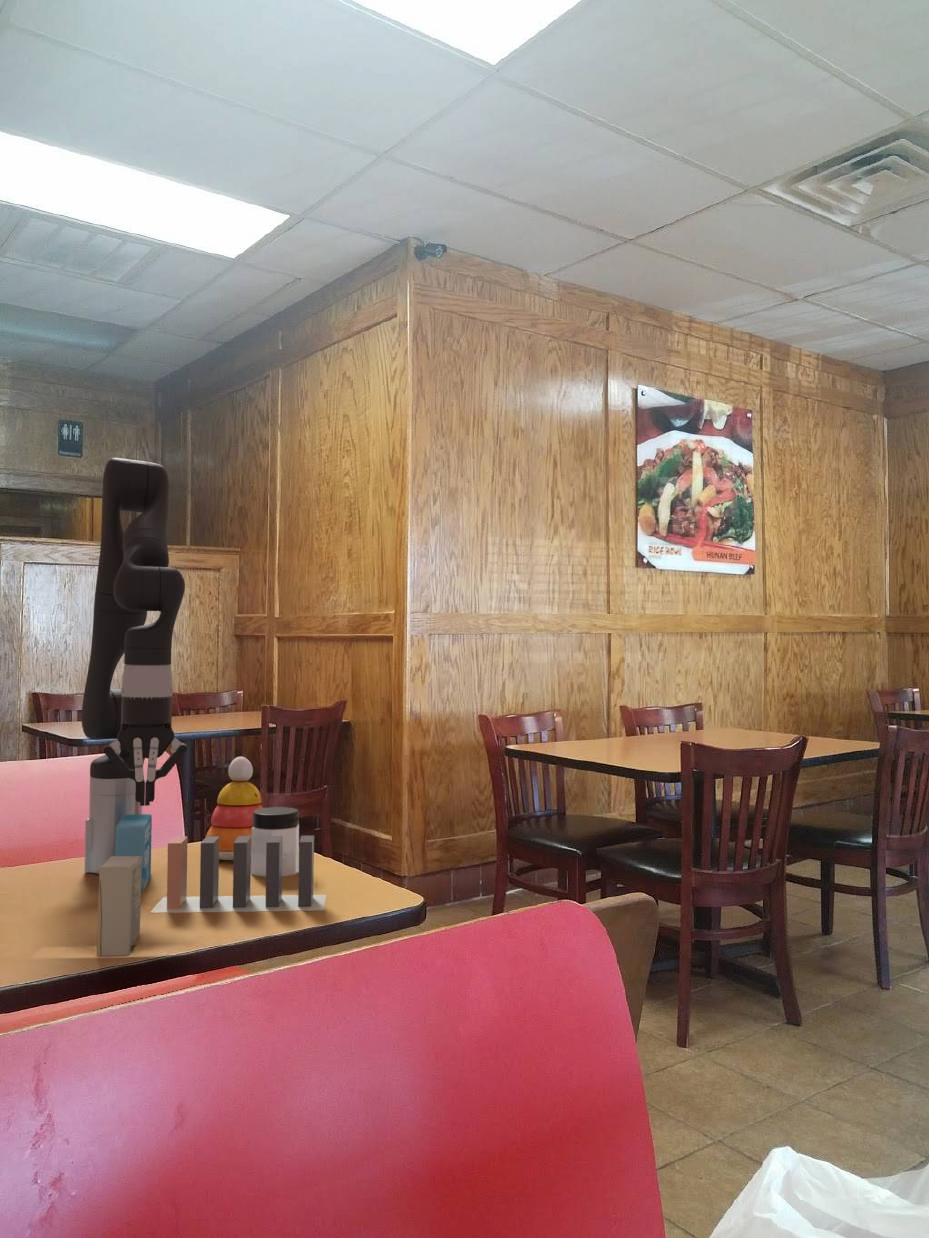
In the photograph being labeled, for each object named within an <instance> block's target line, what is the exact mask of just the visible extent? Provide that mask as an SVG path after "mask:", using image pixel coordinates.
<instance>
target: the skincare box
mask: <svg viewBox="0 0 929 1238" xmlns="http://www.w3.org/2000/svg"><path fill="white" fill-rule="evenodd" d="M141 874H142V856H111V857H110V858H109V859H108V860H106V861H105V862H104V863H103V864H102V865H101V866H100V867H99V874H98V879H99V880H98V899H97V900H98V901H97V905H98V906H97V933H96V934H97V935H96V937H97V940H96V941H97V942H96V956H97V957H118V956H119V957H128V956H129V955H131V953H133V951H134V950H135V948H136V947H137V946H138V945H137V944H135V945H134V942H136V940H137V939H138V937H139V936H140V934H141V906H142V903H141V902H142V891H141Z"/></svg>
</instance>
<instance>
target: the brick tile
mask: <svg viewBox="0 0 929 1238" xmlns="http://www.w3.org/2000/svg"><path fill="white" fill-rule="evenodd" d="M166 872H167V873H166V874H167V875H166V876H167V878H166V880H167V881H166V897H167V909H180V908H181V907H182V905H183V904H184V903H185V901H186V900H187V897H188V895H187V890H188V889H187V888H188V836H174V837H173V838H172V839H170V841H169V842H168V843H167V871H166Z"/></svg>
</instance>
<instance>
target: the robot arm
mask: <svg viewBox="0 0 929 1238" xmlns="http://www.w3.org/2000/svg"><path fill="white" fill-rule="evenodd" d="M101 495H102V496H101V497H102V498H101V499H102V500H101V525H100V527H101V529H100V531H101V533H100V549H99V560H98V566H97V567H98V568H97V574H96V582H95V592H94V602H93V619H92V632H91V633H92V635H91V646H90V647H91V648H90V656H89V661H88V662H89V664H88V669H87V674H86V681H85V687H84V693H83V699H82V704H81V705H82V706H81V727H82V731H83V734H84V735H85V737H86V738H88V739H90V740H94V741H95V740H96V741H98V740H99V741H100V740H113V741H112V742H111V743H109V744H105V746H104V747H103V753H104V755H101V756H100V757H96V758H95V759H94V760H92V761H91V763H90V765H89V766H90V767H89V807H88V808H89V813H88V814H89V815H88V818H87V819H85V832H84V837H85V838H84V873H91V874H96V875H97V874H98V875H99V867H100V866H101V865H102V864H103V863H104V862H105V861H106V860H108V859H109V858H110V857H111V856H115V850H116V828H117V825H118V824H119V822H120V821H121V819H122V818H123V817H124V815H137V814H143V807H144V806H146V807H147V806H151V805H150V803H151V802H153V803H154V800H155V792H156V791H155V789H156V781H157V780H159V779H161V778H165V777H166V776H168V774H169V773H170V771H172V769H173V768H174V767H175V766H176V764H177V763H178V762H179V761H180V760H181V758H182V757H183V756H184V754H185V753H186V752H187V751H188V746H187V744H186V743H184V742H182V741H180V740H178V738H176V737H175V736H176V735H175V731H174V730H173V728H172V722H173V721H172V720H173V719H172V718H173V717H172V715H173V693H174V692H173V691H174V687H173V672H172V643H173V634H174V628H175V624H176V620H177V617H178V614H179V611H180V607H181V605H182V601H183V598H184V595H185V589H186V584H185V583H186V582H185V579H184V576H183V574H182V573H181V571H180V570H179V569H177V568H176V567H171V566H169V564H170V563H169V562H170V558H169V555H170V554H169V550H168V549H169V547H168V542H167V541H168V540H167V526H168V525H167V524H168V517H169V516H168V515H169V501H170V500H169V498H170V480H169V475H168V471H167V469H166V467H164V466H163V464H159V463H156V462H155V463H154V462H151V461H150V462H149V461H145V460H138V459H137V460H136V459H130V458H129V459H128V458H120V457H111V458H109V460H108V461H107V462H106V464H105V467H104V472H103V476H102V494H101ZM121 511H125V512H133V513H134V512H135V513H140V514H139V515H138V516H136V517H135V518H134V519H133V520H132V521H131V522H130V523H129V524H128V525H127V526H126V528H125V530H124V528H123V526H122V520H121ZM148 612H159V615H158V617H157V619H156V620H155V621H154V622H152V623H149V624H146V621H147V617H148ZM122 657H124V658H123V659H124V660H123V664H124V665H123V671H122V678H121V687H120V688H111V686H112V683H113V682H112V681H113V678H114V674H115V671H116V669H117V666H118V664H119V662H120V660H121V659H122ZM170 745H171V748H170V752H171V754H170V755H169V757H168V758H167V759H166V761H165V762H164V763H163V764H162V765H161V767H160V768H157V763H158V758H160V757H162V755H163V754H164V753H165V752H166V751H167V749H168V748H169V746H170ZM145 759H148V760H147V761H148V762H147V771H146V780H145V774H144V773H145V772H144V764H145Z"/></svg>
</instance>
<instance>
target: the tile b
mask: <svg viewBox="0 0 929 1238" xmlns="http://www.w3.org/2000/svg"><path fill="white" fill-rule="evenodd" d="M219 863H220V859H219V836H209V837H206V836H205V838H203V839H202V841H201V842H200V864H199V867H200V868H199V871H200V872H199V877H200V878H199V896H200V908H213V907H214V906H215V904H216V902H217V901H218V896H219V879H220V878H219V875H220V873H219V871H220V870H219V869H220V868H219V867H220V866H219V865H220V864H219Z"/></svg>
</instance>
